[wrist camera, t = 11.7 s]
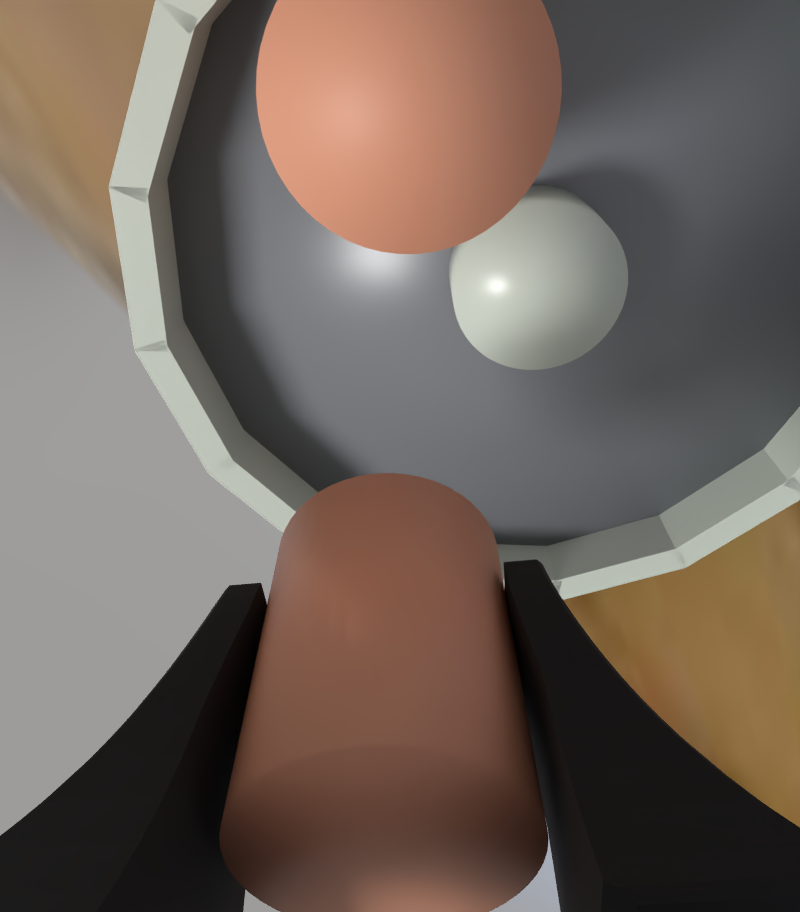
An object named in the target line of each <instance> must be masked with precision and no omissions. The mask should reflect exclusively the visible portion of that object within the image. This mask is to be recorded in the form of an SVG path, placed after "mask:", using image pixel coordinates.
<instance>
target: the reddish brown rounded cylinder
mask: <svg viewBox="0 0 800 912" xmlns="http://www.w3.org/2000/svg"><path fill="white" fill-rule="evenodd" d="M219 841H220V850H221V853H222V856H223V859H224V862H225V864H226V865H227V867H228V869H229V871H230V873H231V874H232V875H233V876H234V878H235V879H236V880H237V881H238V882H239V884H241V885H242V886H243V887H244V888H245V889H246V890H247V891H248V892H249V893H250V894H252V895H253V896H255V897H256V898H258V899H259V900H260V901H262V902H263V903H266V904H267V905H269V906H271V907H272V908H274V909H276V910H278V911H280V912H489V911H491V910H493V909H495V908H497V907H499V906H500V905H502V904H504V903H506V902H507V901H509V900H510V899H512V898H513V897H514V896H516V895H517V894H519V893H520V892H521V891H522V890H523V889H524V888H525V887H526V886H527V885H528V884H529V883H530V882H531V881H532V880H533V878H534V877H535V876H536V875H537V873H538V871H539V870H540V868H541V866H542V864H543V863H544V859H545V856H546V853H547V848H548V832H547V825H546V819H545V813H544V808H543V802H542V797H541V791H540V785H539V780H538V774H537V768H536V763H535V757H534V751H533V746H532V740H531V734H530V729H529V723H528V717H527V712H526V706H525V700H524V695H523V689H522V684H521V678H520V672H519V667H518V661H517V655H516V650H515V644H514V638H513V633H512V629H511V623H510V617H509V612H508V606H507V600H506V595H505V587H504V582H503V576H502V571H501V565H500V559H499V554H498V548H497V543H496V540H495V537H494V533H493V531H492V529H491V527H490V525H489V523H488V521H487V520H486V519H485V517H484V516H483V515H482V513H481V512H480V511H479V510H478V509H477V508H476V507H475V506H474V505H473V504H472V503H471V502H470V501H469V500H468V499H466V498H465V497H464V496H462V495H461V494H460V493H458V492H456V491H454V490H453V489H451V488H449V487H447V486H445V485H443V484H440V483H438V482H436V481H433V480H429V479H426V478H423V477H419V476H413V475H408V474H397V473H379V474H369V475H362V476H357V477H353V478H350V479H346V480H343V481H341V482H338V483H336V484H333V485H331V486H329V487H327V488H325V489H323V490H322V491H320V492H318V493H317V494H315V495H314V496H313V497H311V498H310V499H309V500H307V501H306V502H305V503H304V504H303V505H302V506H301V507H300V508H299V509H298V510H297V511H296V513H295V514H294V515H293V517H292V518H291V519H290V521H289V523H288V525H287V526H286V528H285V530H284V533H283V536H282V539H281V542H280V547H279V552H278V557H277V561H276V566H275V571H274V576H273V580H272V585H271V590H270V594H269V599H268V604H267V609H266V613H265V618H264V623H263V628H262V632H261V637H260V642H259V647H258V651H257V656H256V661H255V665H254V670H253V675H252V680H251V684H250V689H249V694H248V699H247V703H246V708H245V713H244V718H243V722H242V727H241V732H240V737H239V741H238V746H237V751H236V756H235V760H234V765H233V770H232V774H231V779H230V784H229V789H228V793H227V798H226V803H225V808H224V812H223V817H222V822H221V828H220V834H219Z"/></svg>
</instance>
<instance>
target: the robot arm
mask: <svg viewBox="0 0 800 912" xmlns="http://www.w3.org/2000/svg"><path fill="white" fill-rule="evenodd" d="M504 584H505V595H506V600H507V606H508V612H509V617H510V623H511V629H512V633H513V638H514V644H515V650H516V655H517V661H518V667H519V672H520V678H521V684H522V689H523V695H524V700H525V706H526V712H527V717H528V723H529V729H530V734H531V740H532V746H533V751H534V757H535V763H536V768H537V774H538V780H539V785H540V791H541V797H542V802H543V808H544V813H545V818H546V823H547V827H548V833H549V840H550V846H551V852H552V859H553V864H554V871H555V878H556V884H557V891H558V897H559V903H560V910H561V912H800V828H799V827H798V826H796V825H795V824H793V823H792V822H790V821H789V820H787V819H786V818H784V817H783V816H781V815H780V814H778V813H777V812H775V811H774V810H772V809H771V808H770V807H768V806H767V805H765V804H764V803H762V802H761V801H760V800H758V799H757V798H756V797H754V796H753V795H752V794H750V793H749V792H748V791H746V790H745V789H744V788H742V787H741V786H740V785H738V784H737V783H736V782H735V781H733V780H732V779H731V778H729V777H728V776H727V775H725V774H724V773H723V772H722V771H721V770H719V769H718V768H717V767H716V766H715V765H714V764H712V763H711V762H710V761H709V760H708V759H706V758H705V757H704V756H703V755H702V754H700V753H699V752H698V751H697V750H696V749H695V748H693V747H692V746H691V745H690V744H689V743H687V742H686V741H685V740H684V739H683V738H682V737H681V736H679V735H678V734H677V733H676V732H675V731H674V730H673V729H672V728H671V727H670V726H669V725H668V724H667V723H666V722H665V721H664V720H662V719H661V718H660V717H659V716H658V715H657V714H656V713H655V712H654V711H653V710H652V709H651V708H650V707H649V706H648V705H647V704H646V703H645V702H644V701H643V700H642V699H641V698H640V696H639V695H638V694H637V693H636V692H635V691H634V690H633V689H632V688H631V687H630V686H629V685H628V683H627V682H626V681H625V680H624V679H623V678H622V677H621V676H620V674H619V673H618V672H617V671H616V670H615V668H614V667H613V666H612V665H611V664H610V663H609V661H608V660H607V659H606V658H605V657H604V655H603V654H602V653H601V652H600V650H599V649H598V648H597V647H596V645H595V644H594V643H593V641H592V640H591V639H590V637H589V636H588V635H587V633H586V632H585V631H584V629H583V628H582V627H581V625H580V624H579V623H578V621H577V620H576V618H575V617H574V616H573V614H572V613H571V611H570V610H569V608H568V607H567V605H566V604H565V602H564V601H563V599H562V598H561V596H560V594H559V593H558V591H557V589H556V588H555V586H554V584H553V583H552V581H551V579H550V577H549V576H548V574H547V572H546V570H545V568H544V566H543V564H542V563H541V562H540V561H538V560H537V559H534V560H522V561H510V562H504ZM266 609H267V603H266V599H265V596H264V592H263V588H262V585H261V583H255V584H242V585H230V586H229V587H228V588H227V589H226V590H225V591H224V593H223V594H222V596H221V597H220V599H219V600H218V602H217V603H216V604H215V606H214V607H213V609H212V610H211V612H210V613H209V615H208V616H207V617H206V619H205V620H204V622H203V623H202V625H201V626H200V627H199V629H198V630H197V632H196V633H195V635H194V636H193V637H192V639H191V640H190V642H189V643H188V644H187V646H186V647H185V648H184V650H183V651H182V652H181V654H180V655H179V656H178V658H177V659H176V660H175V662H174V663H173V664H172V666H171V667H170V668H169V670H168V671H167V672H166V674H165V675H164V676H163V677H162V679H161V680H160V681H159V682H158V684H157V685H156V686H155V687H154V688H153V690H152V691H151V692H150V693H149V694H148V696H147V697H146V698H145V699H144V700H143V702H142V703H141V704H140V705H139V707H138V708H137V709H136V710H135V711H134V712H133V714H132V715H131V716H130V717H129V718H128V719H127V721H126V722H125V723H124V724H123V725H122V726H121V727H120V728H119V729H118V730H117V731H116V732H115V734H114V735H113V736H112V737H111V738H110V739H109V740H108V741H107V742H106V743H105V744H104V745H103V746H102V747H101V748H100V749H99V750H98V751H97V752H96V753H95V754H94V755H93V756H92V757H91V758H90V759H89V760H88V761H87V762H86V763H85V764H84V765H83V766H82V767H81V768H79V770H77V771H76V772H75V773H74V774H73V775H72V776H71V777H70V778H69V779H68V780H66V781H65V782H64V783H63V784H62V785H61V786H60V787H59V788H58V789H56V790H55V791H54V792H53V793H52V794H51V795H50V796H49V797H48V798H47V799H45V800H44V801H43V802H42V803H41V804H39V805H38V806H37V807H36V808H35V809H33V810H32V811H31V812H30V813H28V814H27V815H26V816H25V817H24V818H22V819H21V820H20V821H19V822H17V823H16V824H15V825H14V826H12V827H11V828H10V829H9V830H7V831H6V832H5V833H3V834H2V835H1V836H0V912H243V906H244V897H245V888H244V887H243V886H242V885H241V884H239V882H238V881H237V880H236V879H235V878H234V876H233V875H232V874H231V873H230V871H229V869H228V867H227V865H226V864H225V862H224V859H223V856H222V853H221V850H220V841H219V834H220V828H221V822H222V817H223V812H224V808H225V803H226V798H227V793H228V789H229V784H230V779H231V774H232V770H233V765H234V760H235V756H236V751H237V746H238V741H239V737H240V732H241V727H242V722H243V718H244V713H245V708H246V703H247V699H248V694H249V689H250V684H251V680H252V675H253V670H254V665H255V661H256V656H257V651H258V647H259V642H260V637H261V632H262V628H263V623H264V618H265V613H266Z"/></svg>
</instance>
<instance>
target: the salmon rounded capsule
mask: <svg viewBox="0 0 800 912" xmlns="http://www.w3.org/2000/svg"><path fill="white" fill-rule="evenodd" d="M561 95H562V77H561V64H560V57H559V49H558V45H557V41H556V37H555V34H554V30H553V26H552V24H551V21H550V19H549V16H548V14H547V11H546V9H545V6H544V4H543V3H542V1H541V0H277V2H276V4H275V6H274V8H273V11H272V13H271V15H270V18H269V20H268V22H267V25H266V28H265V31H264V35H263V39H262V42H261V46H260V51H259V57H258V64H257V73H256V98H257V109H258V117H259V122H260V126H261V131H262V136H263V139H264V142H265V144H266V147H267V150H268V153H269V156H270V158H271V160H272V162H273V164H274V167H275V169H276V171H277V173H278V175H279V176H280V178H281V179H282V181H283V183H284V184H285V186H286V187H287V189H288V190H289V192H290V193H291V194H292V196H293V197H294V198H295V199H296V200H297V202H298V203H299V204H300V205H301V207H303V208H304V209H305V210H306V211H307V212H308V213H309V214H310V215H311V216H312V217H313V218H314V219H315V220H316V221H318V222H319V223H320V224H322V225H323V226H324V227H326V228H327V229H328V230H330V231H331V232H333V233H335V234H337V235H338V236H340V237H342V238H344V239H345V240H347V241H350V242H352V243H355V244H357V245H360V246H362V247H365V248H369V249H373V250H376V251H380V252H387V253H395V254H421V253H429V252H436V251H439V250H443V249H447V248H451V247H454V246H456V245H459V244H461V243H464V242H466V241H469V240H471V239H472V238H474V237H476V236H478V235H479V234H481V233H483V232H485V231H486V230H488V229H489V228H490V227H492V226H493V225H494V224H496V223H497V222H499V221H500V220H501V219H502V218H503V217H504V216H505V215H506V214H507V213H509V212H510V211H511V210H512V209H513V208H514V207H515V206H516V205H517V203H518V202H519V201H520V200H521V199H522V197H523V196H524V195H525V194H526V193H527V191H528V190H529V188H530V187H531V185H532V184H533V182H534V180H535V179H536V177H537V176H538V174H539V172H540V170H541V168H542V166H543V164H544V162H545V160H546V158H547V156H548V153H549V150H550V148H551V145H552V142H553V139H554V136H555V132H556V128H557V123H558V119H559V114H560V105H561Z"/></svg>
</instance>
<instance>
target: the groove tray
mask: <svg viewBox="0 0 800 912" xmlns="http://www.w3.org/2000/svg"><path fill="white" fill-rule="evenodd" d="M541 1H542V3H543V4H544V6H545V9H546V11H547V14H548V16H549V19H550V21H551V24H552V26H553V30H554V34H555V37H556V41H557V45H558V49H559V57H560V64H561V77H562V95H561V105H560V114H559V119H558V123H557V128H556V132H555V136H554V139H553V142H552V145H551V148H550V150H549V153H548V156H547V158H546V160H545V162H544V164H543V166H542V168H541V170H540V172H539V174H538V176H537V177H536V179H535V180H534V182H533V184H532V185H531V187H530V188H529V190H528V191H527V193H526V194H525V195H524V196H523V197H522V199H521V200H520V201H519V202H518V203H517V205H516V206H515V207H514V208H513V209H512V210H511V211H510V212H509V213H507V214H506V215H505V216H504V217H503V218H502V219H501V220H500V221H499V222H497V223H496V224H494V225H493V226H492V227H490V228H489V229H488V230H486V231H485V232H483V233H481V234H479V235H478V236H476V237H474V238H472V239H471V240H469V241H466V242H464V243H461V244H459V245H456V246H454V247H451V248H447V249H443V250H439V251H436V252H429V253H421V254H395V253H387V252H380V251H376V250H373V249H369V248H365V247H362V246H360V245H357V244H355V243H352V242H350V241H347V240H345V239H344V238H342V237H340V236H338V235H337V234H335V233H333V232H331V231H330V230H328V229H327V228H326V227H324V226H323V225H322V224H320V223H319V222H318V221H316V220H315V219H314V218H313V217H312V216H311V215H310V214H309V213H308V212H307V211H306V210H305V209H304V208H303V207H301V205H300V204H299V203H298V202H297V200H296V199H295V198H294V197H293V196H292V194H291V193H290V192H289V190H288V189H287V187H286V186H285V184H284V183H283V181H282V179H281V178H280V176H279V175H278V173H277V171H276V169H275V167H274V164H273V162H272V160H271V158H270V156H269V153H268V150H267V147H266V144H265V142H264V139H263V136H262V131H261V126H260V122H259V117H258V109H257V98H256V73H257V64H258V57H259V51H260V46H261V42H262V39H263V35H264V31H265V28H266V25H267V22H268V20H269V18H270V15H271V13H272V11H273V8H274V6H275V4H276V2H277V0H155V4H154V8H153V12H152V16H151V20H150V24H149V28H148V32H147V36H146V40H145V44H144V48H143V52H142V56H141V60H140V64H139V68H138V72H137V76H136V80H135V84H134V88H133V92H132V96H131V100H130V104H129V108H128V112H127V116H126V120H125V124H124V128H123V132H122V136H121V140H120V144H119V148H118V152H117V156H116V160H115V164H114V168H113V172H112V176H111V180H110V184H109V191H110V198H111V204H112V211H113V217H114V223H115V230H116V236H117V242H118V249H119V255H120V262H121V268H122V274H123V281H124V287H125V294H126V300H127V306H128V313H129V319H130V325H131V332H132V338H133V344H134V351H135V352H136V354H137V356H138V357H139V359H140V361H141V362H142V364H143V365H144V367H145V369H146V371H147V372H148V374H149V375H150V377H151V379H152V380H153V382H154V384H155V386H156V387H157V389H158V390H159V392H160V394H161V396H162V397H163V399H164V401H165V402H166V404H167V406H168V407H169V409H170V411H171V412H172V414H173V416H174V417H175V419H176V420H177V422H178V424H179V425H180V427H181V429H182V431H183V432H184V434H185V436H186V437H187V439H188V440H189V442H190V444H191V446H192V447H193V449H194V451H195V452H196V454H197V456H198V457H199V459H200V461H201V462H202V464H203V466H204V467H205V469H206V471H207V472H208V474H210V475H211V476H212V477H213V478H215V479H216V480H217V481H218V482H219V483H221V484H222V485H223V486H224V487H226V488H227V489H228V490H229V491H231V492H232V493H233V494H235V495H236V496H237V497H238V498H240V499H241V500H242V501H243V502H245V503H246V504H247V505H249V506H250V507H251V508H252V509H253V510H255V511H256V512H257V513H259V514H260V515H261V516H262V517H264V518H265V519H266V520H267V521H269V522H270V523H271V524H272V525H274V526H275V527H276V528H278V529H279V530H280V531H281V532H282V533H284V530H285V528H286V526H287V525H288V523H289V521H290V519H291V518H292V517H293V515H294V514H295V513H296V511H297V510H298V509H299V508H300V507H301V506H302V505H303V504H304V503H305V502H306V501H307V500H309V499H310V498H311V497H313V496H314V495H315V494H317V493H318V492H320V491H322V490H323V489H325V488H327V487H329V486H331V485H333V484H336V483H338V482H341V481H343V480H346V479H350V478H353V477H357V476H362V475H369V474H379V473H397V474H408V475H413V476H419V477H423V478H426V479H429V480H433V481H436V482H438V483H440V484H443V485H445V486H447V487H449V488H451V489H453V490H454V491H456V492H458V493H460V494H461V495H462V496H464V497H465V498H466V499H468V500H469V501H470V502H471V503H472V504H473V505H474V506H475V507H476V508H477V509H478V510H479V511H480V512H481V513H482V515H483V516H484V517H485V519H486V520H487V521H488V523H489V525H490V527H491V529H492V531H493V533H494V537H495V540H496V543H497V548H498V554H499V559H500V565H501V571H502V576H503V582H504V562H510V561H522V560H534V559H537V560H538V561H540V562H541V563H542V564H543V566H544V568H545V570H546V572H547V574H548V576H549V577H550V579H551V581H552V583H553V584H554V586H555V588H556V589H557V591H558V593H559V594H560V596H561V598H562V599H563V600H564V599H568V598H572V597H575V596H579V595H583V594H587V593H591V592H595V591H598V590H602V589H606V588H610V587H614V586H618V585H621V584H625V583H629V582H633V581H637V580H641V579H644V578H648V577H652V576H656V575H660V574H664V573H667V572H671V571H675V570H679V569H683V568H686V567H688V566H689V565H691V564H693V563H694V562H696V561H698V560H699V559H701V558H703V557H704V556H706V555H708V554H709V553H711V552H713V551H715V550H716V549H718V548H720V547H721V546H723V545H725V544H726V543H728V542H730V541H731V540H733V539H735V538H736V537H738V536H740V535H741V534H743V533H745V532H746V531H748V530H750V529H752V528H753V527H755V526H757V525H758V524H760V523H762V522H763V521H765V520H767V519H768V518H770V517H772V516H773V515H775V514H777V513H778V512H780V511H782V510H784V509H785V508H787V507H789V506H790V505H792V504H794V503H795V502H797V501H799V500H800V0H541ZM504 587H505V584H504Z"/></svg>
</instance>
